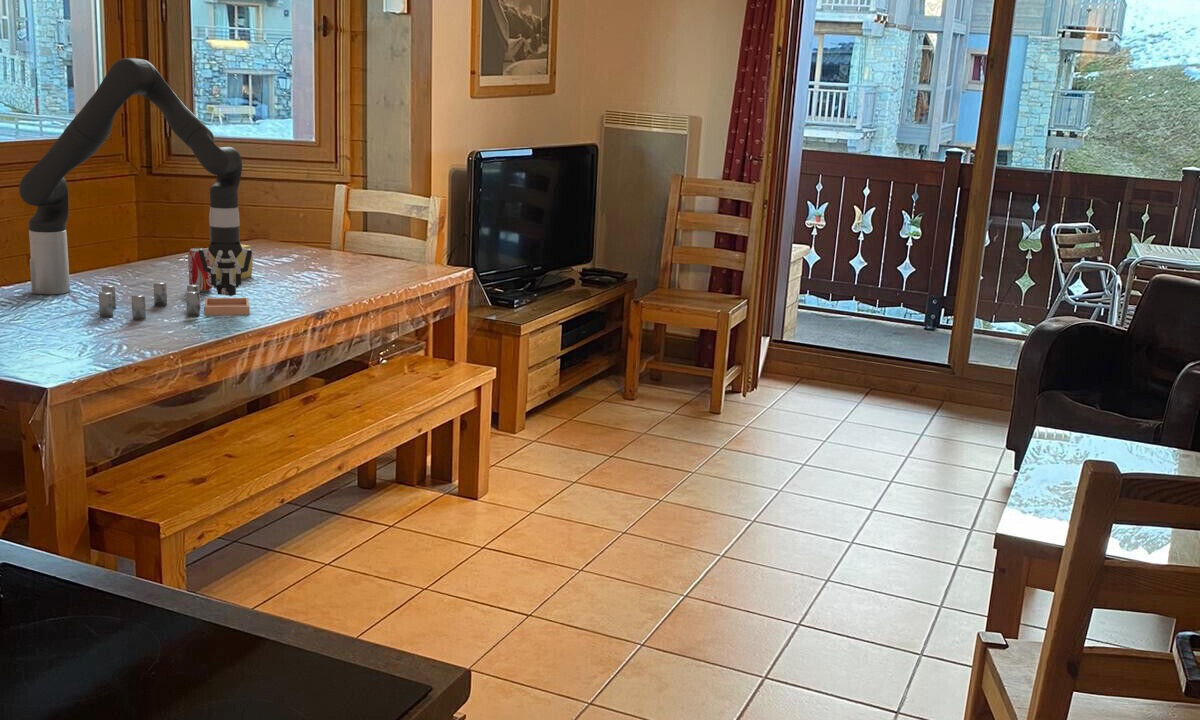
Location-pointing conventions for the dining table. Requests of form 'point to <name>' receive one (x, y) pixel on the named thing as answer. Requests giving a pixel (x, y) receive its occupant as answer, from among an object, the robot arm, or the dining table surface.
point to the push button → (226, 277)
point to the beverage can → (199, 270)
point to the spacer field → (138, 301)
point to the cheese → (241, 263)
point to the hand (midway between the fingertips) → (226, 286)
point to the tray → (226, 306)
